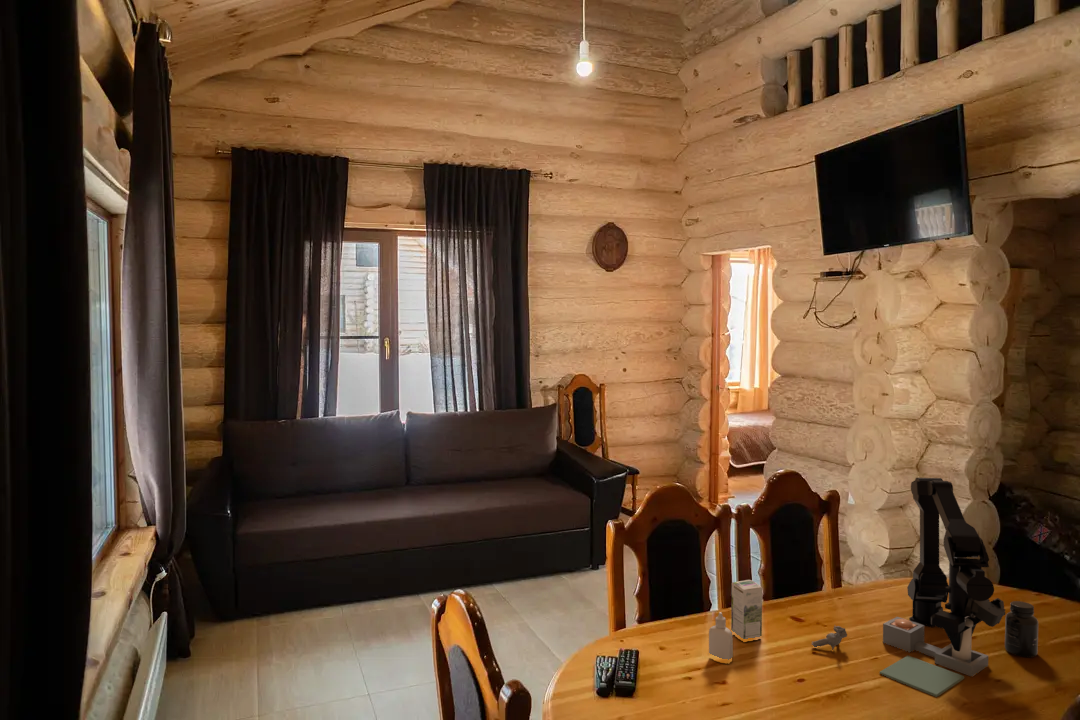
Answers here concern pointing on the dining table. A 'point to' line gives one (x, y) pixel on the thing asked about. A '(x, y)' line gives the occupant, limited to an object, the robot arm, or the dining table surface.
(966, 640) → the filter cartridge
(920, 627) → the grey long framed piece
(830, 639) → the grey limbed figure piece
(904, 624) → the plunger
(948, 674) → the green mat
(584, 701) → the dining table surface
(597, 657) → the dining table surface
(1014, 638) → the supplement bottle
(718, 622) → the eye dropper bottle
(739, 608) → the syrup box
